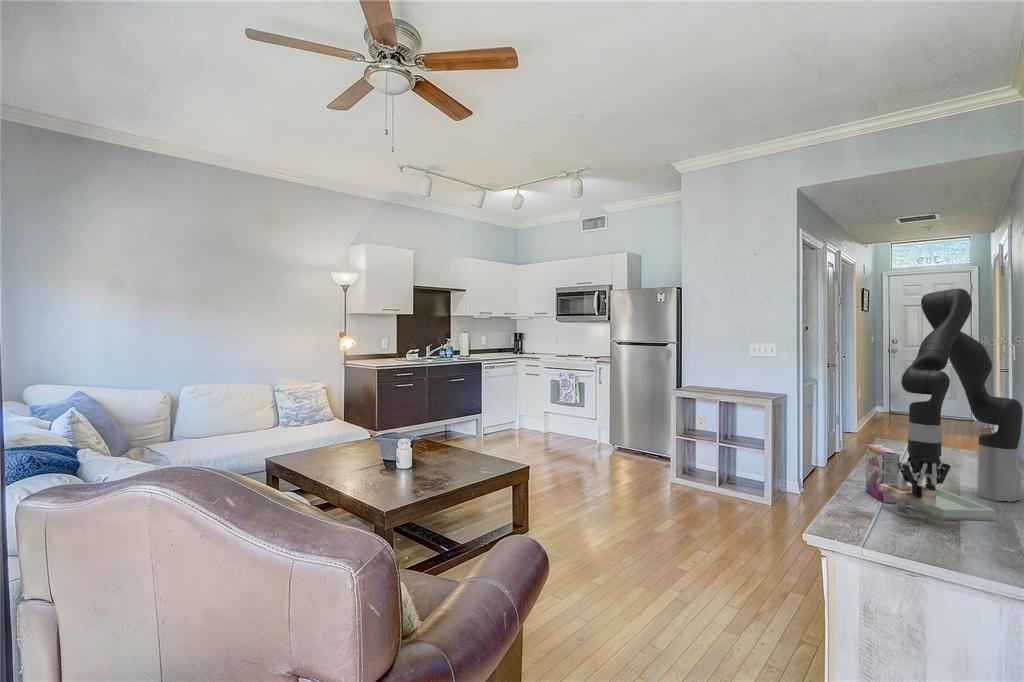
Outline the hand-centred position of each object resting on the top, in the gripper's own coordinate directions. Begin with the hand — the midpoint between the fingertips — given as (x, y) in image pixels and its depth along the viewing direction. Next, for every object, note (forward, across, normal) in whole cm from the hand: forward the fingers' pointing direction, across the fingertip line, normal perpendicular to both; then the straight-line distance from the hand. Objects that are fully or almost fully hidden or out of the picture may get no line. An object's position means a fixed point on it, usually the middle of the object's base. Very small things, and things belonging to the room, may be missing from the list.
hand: (923, 497), depth 143 cm
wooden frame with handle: (+2, 0, -5) cm, 5 cm away
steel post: (+7, 0, -8) cm, 10 cm away
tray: (+7, -14, -10) cm, 19 cm away
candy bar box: (+7, -2, -19) cm, 21 cm away
